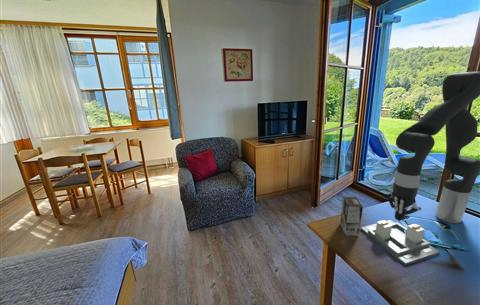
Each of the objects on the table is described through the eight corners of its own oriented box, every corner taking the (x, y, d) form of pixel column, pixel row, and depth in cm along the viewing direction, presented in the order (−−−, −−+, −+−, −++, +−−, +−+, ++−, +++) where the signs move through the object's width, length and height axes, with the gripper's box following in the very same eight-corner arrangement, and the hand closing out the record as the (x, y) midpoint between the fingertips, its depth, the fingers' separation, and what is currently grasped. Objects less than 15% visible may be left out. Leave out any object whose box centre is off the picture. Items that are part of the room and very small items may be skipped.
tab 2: (411, 236, 92) (415, 222, 89) (421, 242, 88) (425, 227, 85) (404, 238, 91) (408, 224, 88) (414, 244, 87) (417, 230, 84)
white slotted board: (389, 221, 104) (390, 217, 103) (439, 254, 83) (440, 249, 83) (360, 229, 100) (361, 225, 99) (404, 265, 80) (406, 260, 79)
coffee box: (359, 236, 96) (363, 207, 91) (344, 235, 97) (348, 206, 92) (353, 223, 104) (356, 196, 99) (339, 222, 106) (342, 196, 101)
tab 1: (381, 232, 95) (384, 218, 93) (389, 238, 91) (392, 224, 89) (374, 234, 94) (377, 220, 92) (382, 240, 91) (385, 226, 88)
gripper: (432, 188, 73) (422, 227, 78) (397, 174, 85) (391, 208, 91) (416, 192, 71) (407, 232, 77) (383, 177, 84) (377, 212, 89)
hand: (398, 219), depth 84 cm, fingers closed
